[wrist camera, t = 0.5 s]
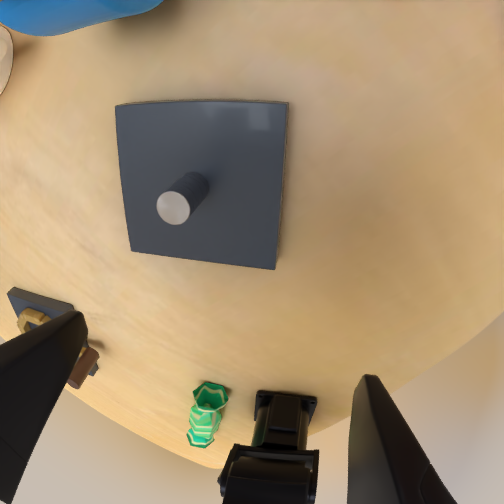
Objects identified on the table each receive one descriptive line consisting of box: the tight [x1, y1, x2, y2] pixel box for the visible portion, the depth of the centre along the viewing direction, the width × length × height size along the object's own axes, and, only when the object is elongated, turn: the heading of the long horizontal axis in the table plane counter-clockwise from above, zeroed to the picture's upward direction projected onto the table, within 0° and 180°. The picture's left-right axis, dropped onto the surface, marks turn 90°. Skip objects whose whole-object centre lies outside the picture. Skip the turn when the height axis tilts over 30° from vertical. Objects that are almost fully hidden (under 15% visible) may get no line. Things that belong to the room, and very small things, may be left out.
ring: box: [17, 308, 99, 389], centre depth 31 cm, size 13×9×5 cm
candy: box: [187, 382, 228, 448], centre depth 34 cm, size 12×3×4 cm
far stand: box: [7, 287, 98, 376], centre depth 32 cm, size 11×11×5 cm
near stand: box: [115, 99, 289, 270], centre depth 19 cm, size 11×11×5 cm
